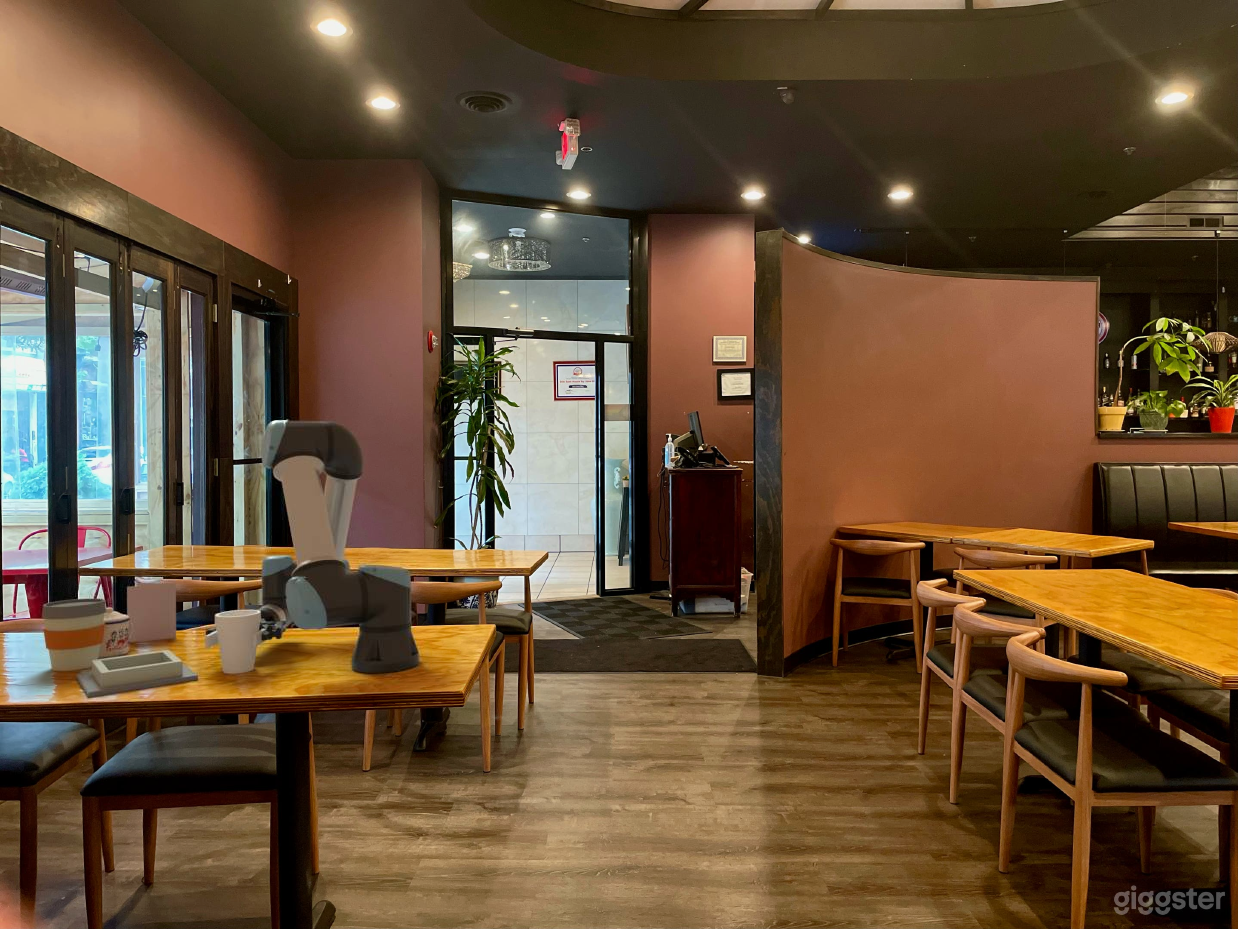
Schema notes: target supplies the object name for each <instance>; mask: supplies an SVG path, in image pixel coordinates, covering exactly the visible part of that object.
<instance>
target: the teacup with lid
mask: <svg viewBox="0 0 1238 929" xmlns="http://www.w3.org/2000/svg"><path fill="white" fill-rule="evenodd" d="M129 620H130V618H129V616H128V615H127V614H123V613H120V611H119V612H118V611H115V610H114V607H106V612H105V614H104V621H103V623H105V629H104V636H103V642H102V643H100V650H99V657H98V659H105V658H113V657H120V656H124V655H125V654H127V653H129V651H130V642H129V638H130V637H131V635H132V632H133V625H132V623H131V622H130V621H129Z"/></svg>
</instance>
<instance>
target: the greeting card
mask: <svg viewBox="0 0 1238 929" xmlns="http://www.w3.org/2000/svg"><path fill="white" fill-rule="evenodd" d="M176 584H177V583H160V582H159V583H151V582H148V583H147V582H143V583H142V582H141V583H140V582H138V583H137V585H133V586H127V587H126V591H127V592H126V596H127V598H126V605H127V606H126V607H127V608H126V609H127V610H126V611H127V612H126V613H127V614H126V615H128V616H129V618H130V620H129V621H130V622H131V623H132V625H133V632H132V635H131V637H130V638H129V643H137V642H147V641H156V640H157V641H158V640H168V639H171V640H172V639H177V598H176V597H177V585H176Z"/></svg>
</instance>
